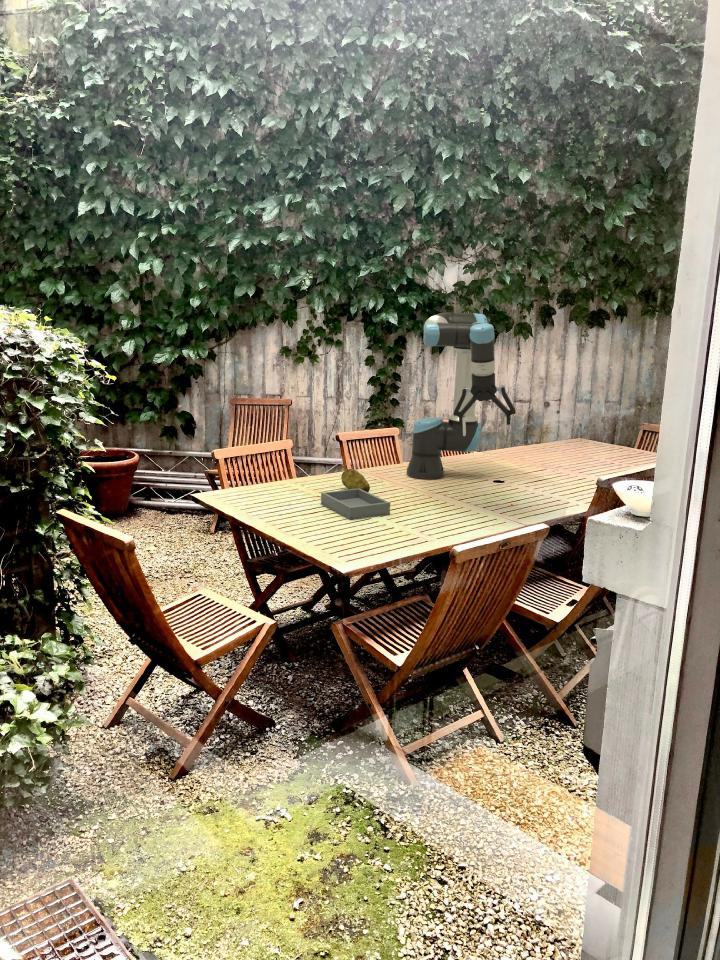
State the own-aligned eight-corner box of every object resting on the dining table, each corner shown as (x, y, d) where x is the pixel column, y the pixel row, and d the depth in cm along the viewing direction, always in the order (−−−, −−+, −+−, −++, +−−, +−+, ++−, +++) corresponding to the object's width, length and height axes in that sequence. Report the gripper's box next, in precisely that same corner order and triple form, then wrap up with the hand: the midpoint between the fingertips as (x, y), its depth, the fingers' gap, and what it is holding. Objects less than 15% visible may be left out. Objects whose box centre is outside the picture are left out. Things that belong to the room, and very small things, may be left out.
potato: (349, 497, 249) (350, 475, 247) (338, 488, 261) (339, 467, 259) (371, 496, 252) (372, 474, 250) (359, 487, 264) (360, 466, 262)
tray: (320, 504, 240) (321, 492, 239) (358, 499, 247) (359, 488, 246) (350, 519, 223) (350, 507, 222) (389, 514, 231) (390, 502, 230)
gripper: (443, 377, 227) (446, 439, 236) (522, 374, 222) (523, 437, 230) (445, 371, 234) (448, 430, 242) (522, 367, 228) (523, 429, 237)
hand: (484, 434), depth 236 cm, fingers open, 13 cm apart
